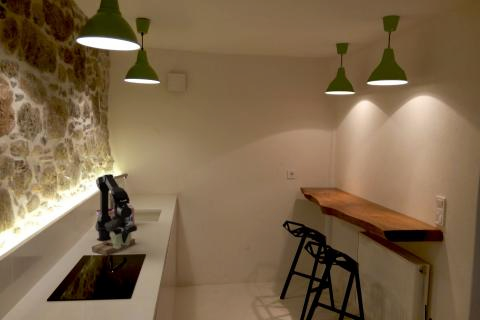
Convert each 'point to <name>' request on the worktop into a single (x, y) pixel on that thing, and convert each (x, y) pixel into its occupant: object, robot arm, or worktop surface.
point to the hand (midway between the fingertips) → (121, 242)
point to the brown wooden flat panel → (109, 247)
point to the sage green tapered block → (119, 240)
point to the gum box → (129, 219)
